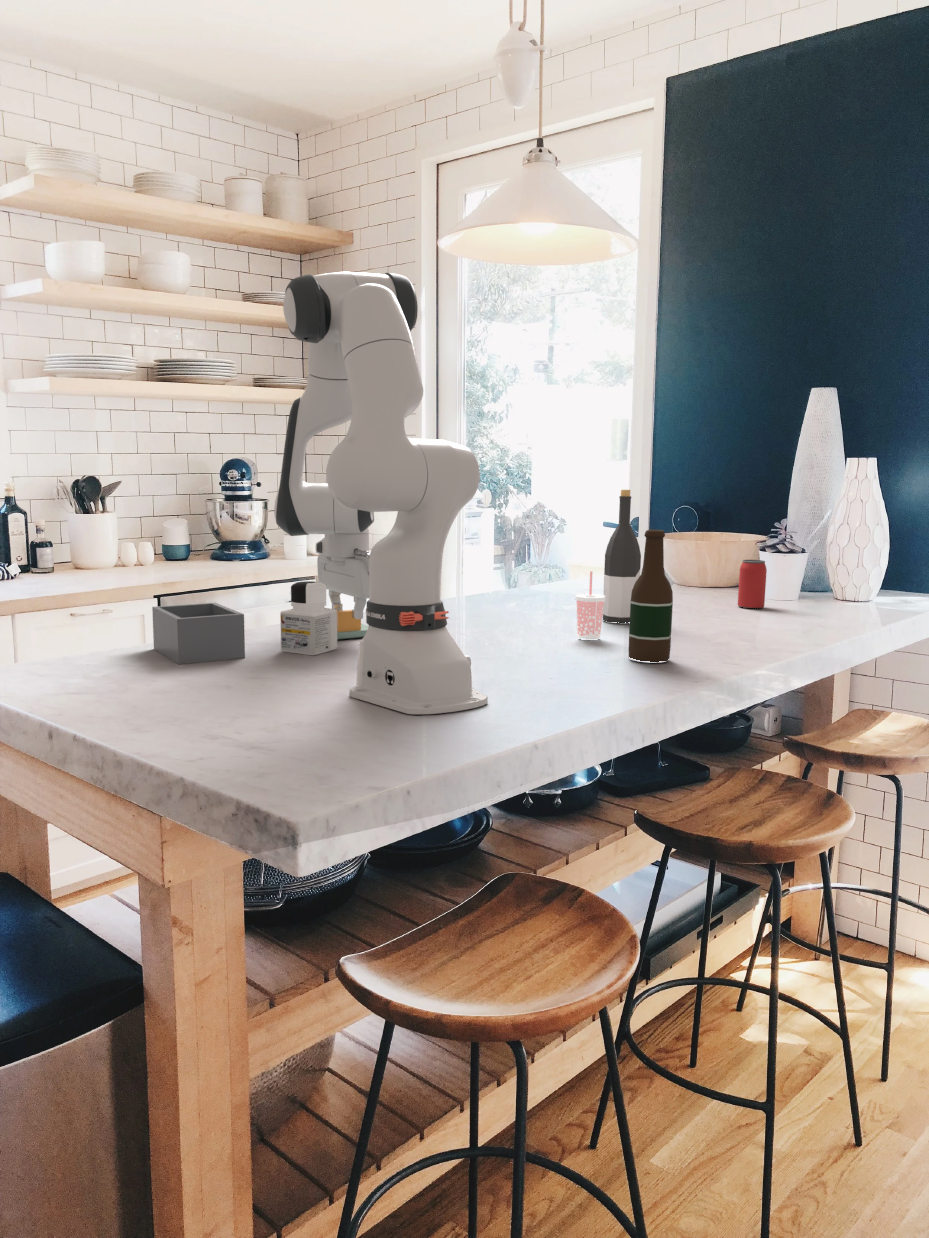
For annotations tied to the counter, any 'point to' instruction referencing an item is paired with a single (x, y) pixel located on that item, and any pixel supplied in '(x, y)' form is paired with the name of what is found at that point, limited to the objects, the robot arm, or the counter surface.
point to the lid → (349, 626)
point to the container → (308, 621)
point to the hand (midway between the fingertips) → (347, 615)
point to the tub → (198, 632)
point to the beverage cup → (589, 614)
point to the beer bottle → (651, 605)
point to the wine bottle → (621, 566)
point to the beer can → (752, 584)
